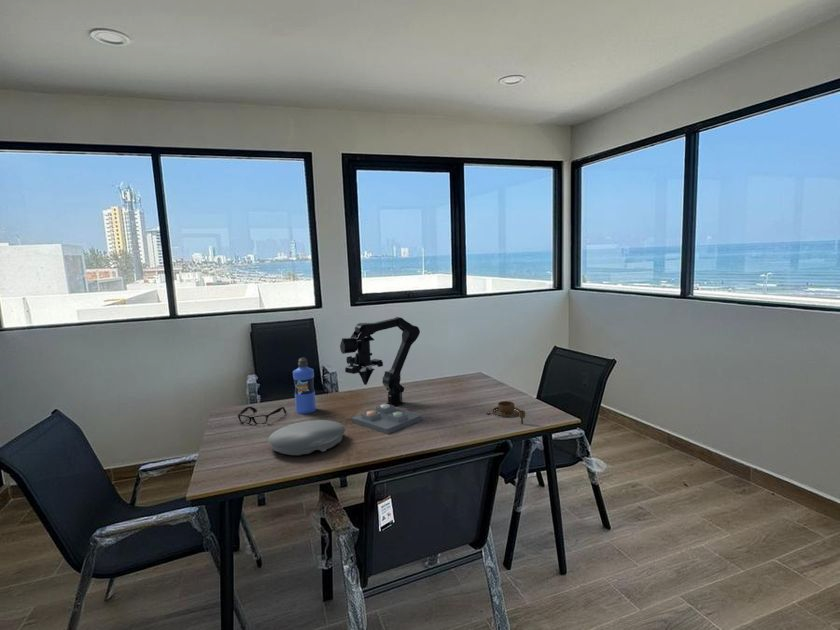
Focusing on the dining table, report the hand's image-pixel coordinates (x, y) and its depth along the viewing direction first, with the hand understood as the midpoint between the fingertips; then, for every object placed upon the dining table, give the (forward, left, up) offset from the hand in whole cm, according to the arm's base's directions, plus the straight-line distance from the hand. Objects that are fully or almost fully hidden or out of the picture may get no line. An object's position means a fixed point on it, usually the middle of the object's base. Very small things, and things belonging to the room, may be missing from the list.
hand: (365, 384), depth 206 cm
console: (+5, +18, -12) cm, 22 cm away
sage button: (+4, +24, -9) cm, 26 cm away
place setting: (-31, +55, -13) cm, 65 cm away
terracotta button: (+10, +14, -9) cm, 20 cm away
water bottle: (+18, -23, -12) cm, 31 cm away
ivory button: (0, +12, -10) cm, 16 cm away
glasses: (+35, -31, -13) cm, 49 cm away
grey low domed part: (+40, +12, -13) cm, 43 cm away
